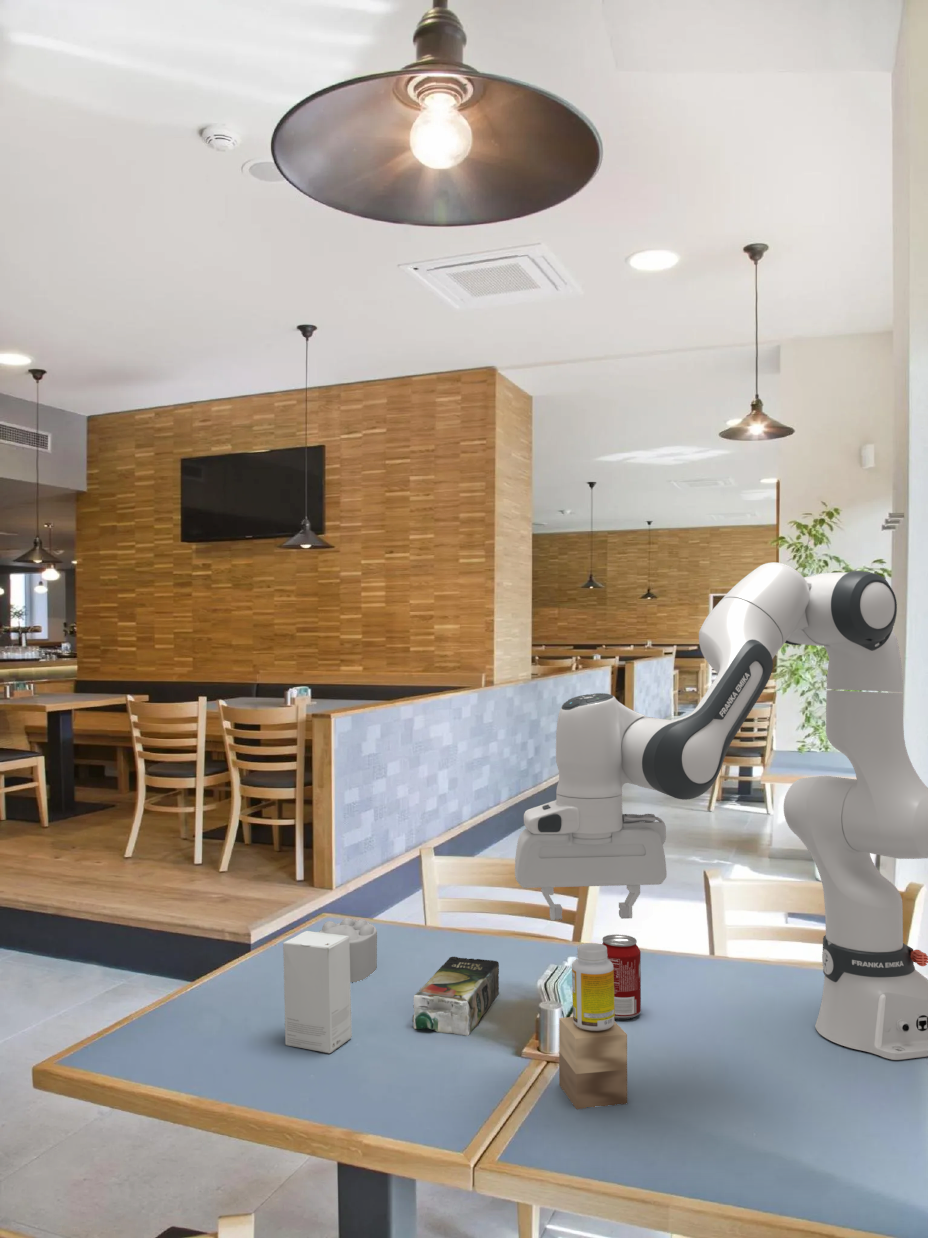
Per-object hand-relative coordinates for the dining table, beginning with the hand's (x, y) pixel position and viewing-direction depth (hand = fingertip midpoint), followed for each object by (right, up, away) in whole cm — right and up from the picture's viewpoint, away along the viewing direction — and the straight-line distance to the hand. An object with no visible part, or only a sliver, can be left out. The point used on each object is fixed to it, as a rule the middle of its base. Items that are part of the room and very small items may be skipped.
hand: (590, 918), depth 126 cm
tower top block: (0, -19, -1) cm, 19 cm away
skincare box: (-39, -24, +15) cm, 48 cm away
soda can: (+8, -24, +27) cm, 37 cm away
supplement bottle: (0, -14, -1) cm, 14 cm away
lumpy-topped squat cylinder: (-39, -25, +48) cm, 66 cm away
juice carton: (-18, -25, +28) cm, 41 cm away
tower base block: (0, -23, -1) cm, 23 cm away
